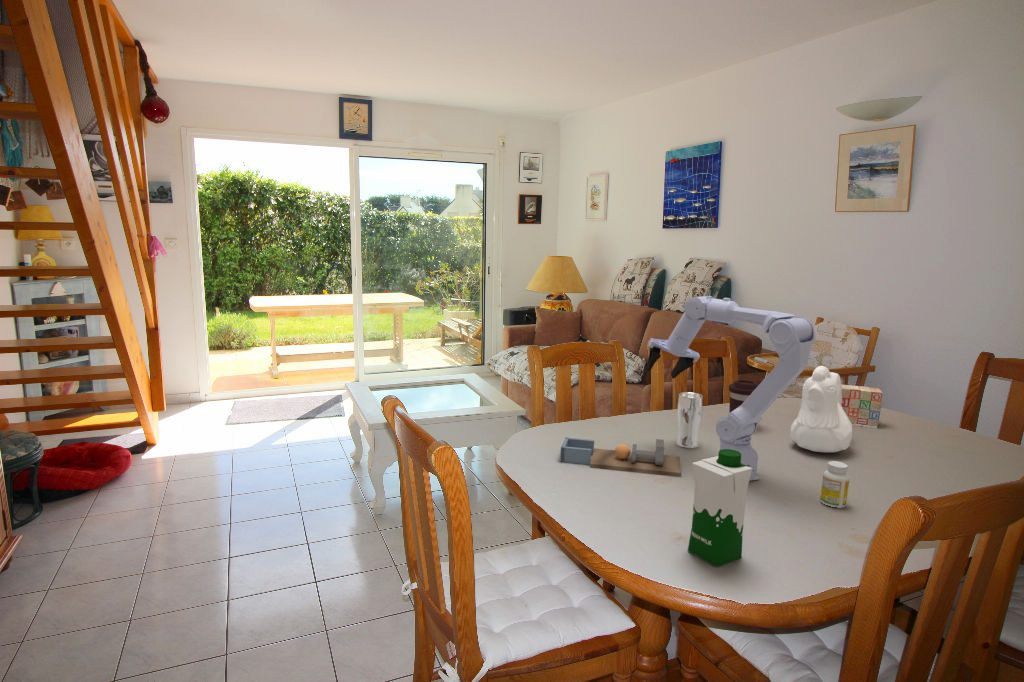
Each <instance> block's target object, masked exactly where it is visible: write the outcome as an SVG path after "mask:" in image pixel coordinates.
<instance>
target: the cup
mask: <svg viewBox="0 0 1024 682" xmlns="http://www.w3.org/2000/svg"><path fill="white" fill-rule="evenodd" d="M594 448H595V440H594V439H587V438H575V437H566V436H565V437H564V440H563V442H562V444H561V446H560V457H559V458H560V462H559V463H570V464H579V465H589V466H590V462H591V458H592V455H593V451H594Z"/></svg>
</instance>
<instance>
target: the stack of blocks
mask: <svg viewBox="0 0 1024 682" xmlns="http://www.w3.org/2000/svg"><path fill="white" fill-rule="evenodd" d="M841 385H842V392H841V393H842V403H841V406H842V408H843V410H844V412H845V413H846V415H847V417H848V419H849V420H850V422H851V424H861V425H869V426H878V427H879V421H880V415H881V409H882V398H883V392H882V390H881V389H880V388H877V387H869V386H862V385H861V386H860V385H849V384H848V385H847V384H841Z"/></svg>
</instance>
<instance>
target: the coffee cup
mask: <svg viewBox="0 0 1024 682" xmlns="http://www.w3.org/2000/svg"><path fill="white" fill-rule="evenodd" d="M758 386H759V384H758V382H757V381H754V380H748V379H737V380H734V381H733V383H731V384H729V385H728V391H729V392H730V393H729V412H728V413H729V414H730V412H732V411H733V410H735V409H736V408H738V407H739V406H741V405H742V403H743V402H744V401H745V400H746V399H747V398H748V397H749V396H750V394H751V393H752V392H753V391H754V390H755V389H756V388H757V387H758Z"/></svg>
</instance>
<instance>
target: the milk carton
mask: <svg viewBox="0 0 1024 682" xmlns="http://www.w3.org/2000/svg"><path fill="white" fill-rule="evenodd" d="M691 465H692V472H693V477H694V493H693V508H692V518H691V519H692V521H691V523H692V524H691V530H690V536H689V542H688V546H687V551H688V552H689V553H691V554H693V555H695V556H696V557H698V558H700V559H701V560H702V561H703V560H704V561H705V562H707V563H709V564H710V565H712V566H714V567H716V568H718V567H721V566H723V565H725V564H729V563H732V562H734V561H735V560H738V559H741V558H742V556H743V555H742V553H743V535H744V524H745V523H744V522H745V515H746V514H745V513H746V512H745V510H746V504H747V502H746V501H747V491H748V487H749V483H750V481H751V480H750V476H751V472H752V468H750V467H747V466H746V465H744V464H742V463H741V453H740V452H738V451H735V450H731V449H722V450H720V449H719V450H718V455H716V456H711V457H707V458H702V459H700V460H698V461H695V462H691ZM749 480H750V481H749Z"/></svg>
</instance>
